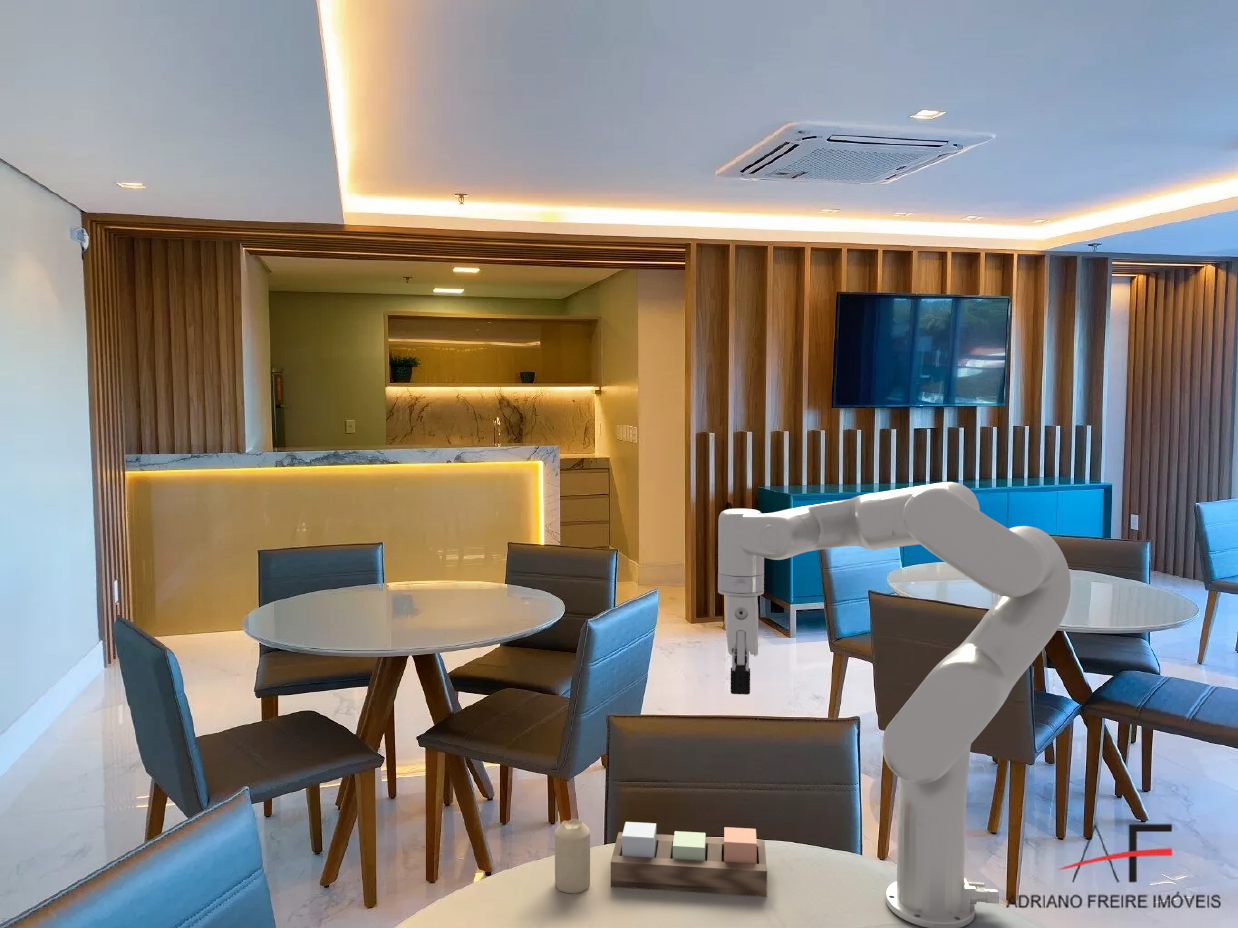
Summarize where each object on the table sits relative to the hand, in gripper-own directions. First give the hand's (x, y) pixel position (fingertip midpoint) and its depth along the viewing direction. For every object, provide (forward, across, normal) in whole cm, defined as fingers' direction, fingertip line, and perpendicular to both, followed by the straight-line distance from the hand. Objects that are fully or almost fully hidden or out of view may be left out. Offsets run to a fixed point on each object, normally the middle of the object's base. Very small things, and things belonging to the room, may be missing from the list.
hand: (740, 692), depth 150 cm
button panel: (+27, -9, +8) cm, 30 cm away
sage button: (+26, -9, +8) cm, 28 cm away
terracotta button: (+25, -9, 0) cm, 26 cm away
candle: (+27, -14, +26) cm, 40 cm away
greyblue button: (+25, -9, +16) cm, 31 cm away
